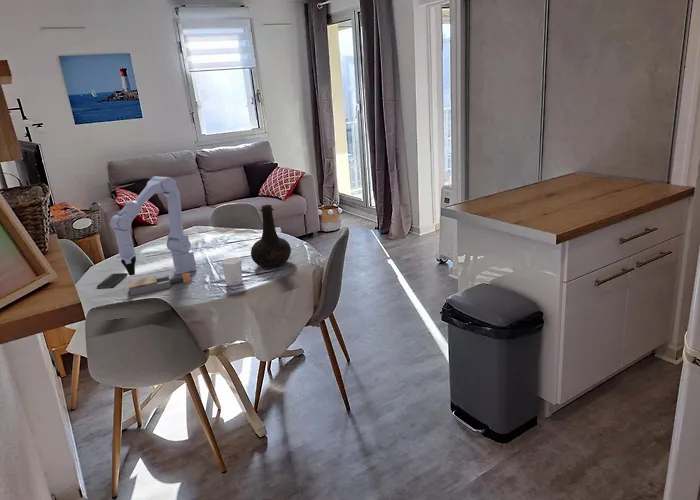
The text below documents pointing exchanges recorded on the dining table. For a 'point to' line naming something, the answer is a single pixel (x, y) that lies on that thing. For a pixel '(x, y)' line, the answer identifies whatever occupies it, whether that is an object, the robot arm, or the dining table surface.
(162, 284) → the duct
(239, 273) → the white cup
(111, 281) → the phone
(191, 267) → the robot arm
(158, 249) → the dining table surface
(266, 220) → the glass bottle
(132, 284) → the lid
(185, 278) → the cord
